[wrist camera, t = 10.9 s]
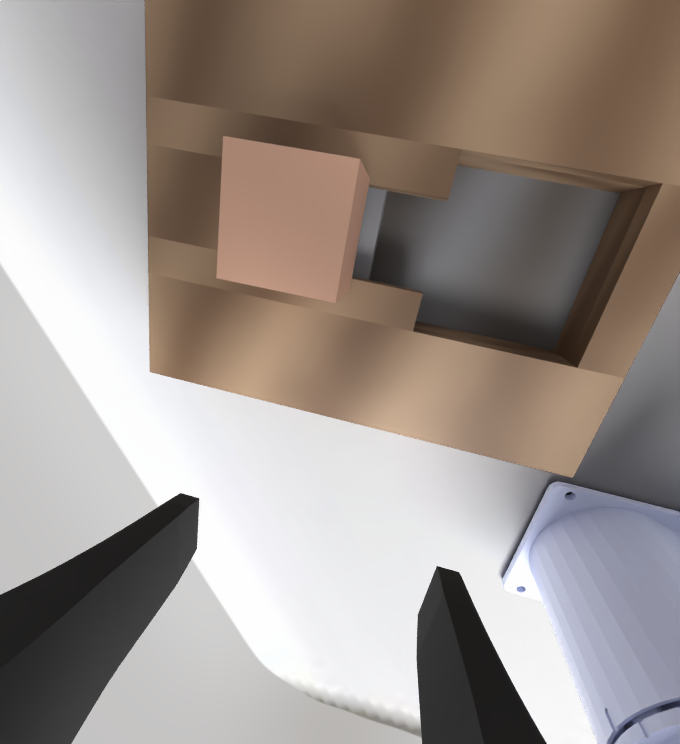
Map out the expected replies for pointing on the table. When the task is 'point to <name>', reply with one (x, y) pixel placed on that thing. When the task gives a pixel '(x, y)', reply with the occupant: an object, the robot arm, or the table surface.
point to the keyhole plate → (428, 208)
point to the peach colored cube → (296, 219)
